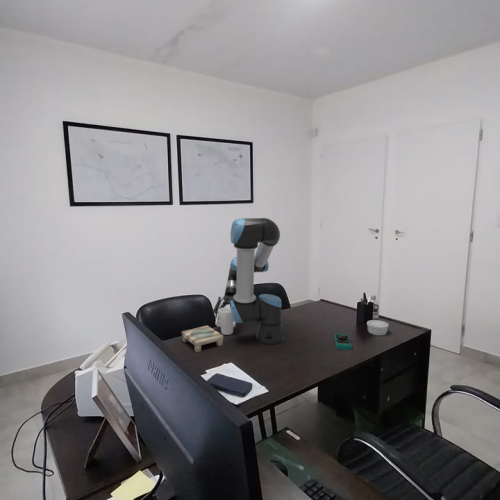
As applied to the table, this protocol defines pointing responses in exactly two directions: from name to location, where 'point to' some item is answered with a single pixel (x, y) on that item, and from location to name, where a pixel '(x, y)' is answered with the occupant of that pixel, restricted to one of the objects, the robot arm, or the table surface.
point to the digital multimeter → (342, 341)
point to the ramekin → (377, 327)
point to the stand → (202, 337)
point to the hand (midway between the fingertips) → (225, 325)
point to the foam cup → (226, 320)
